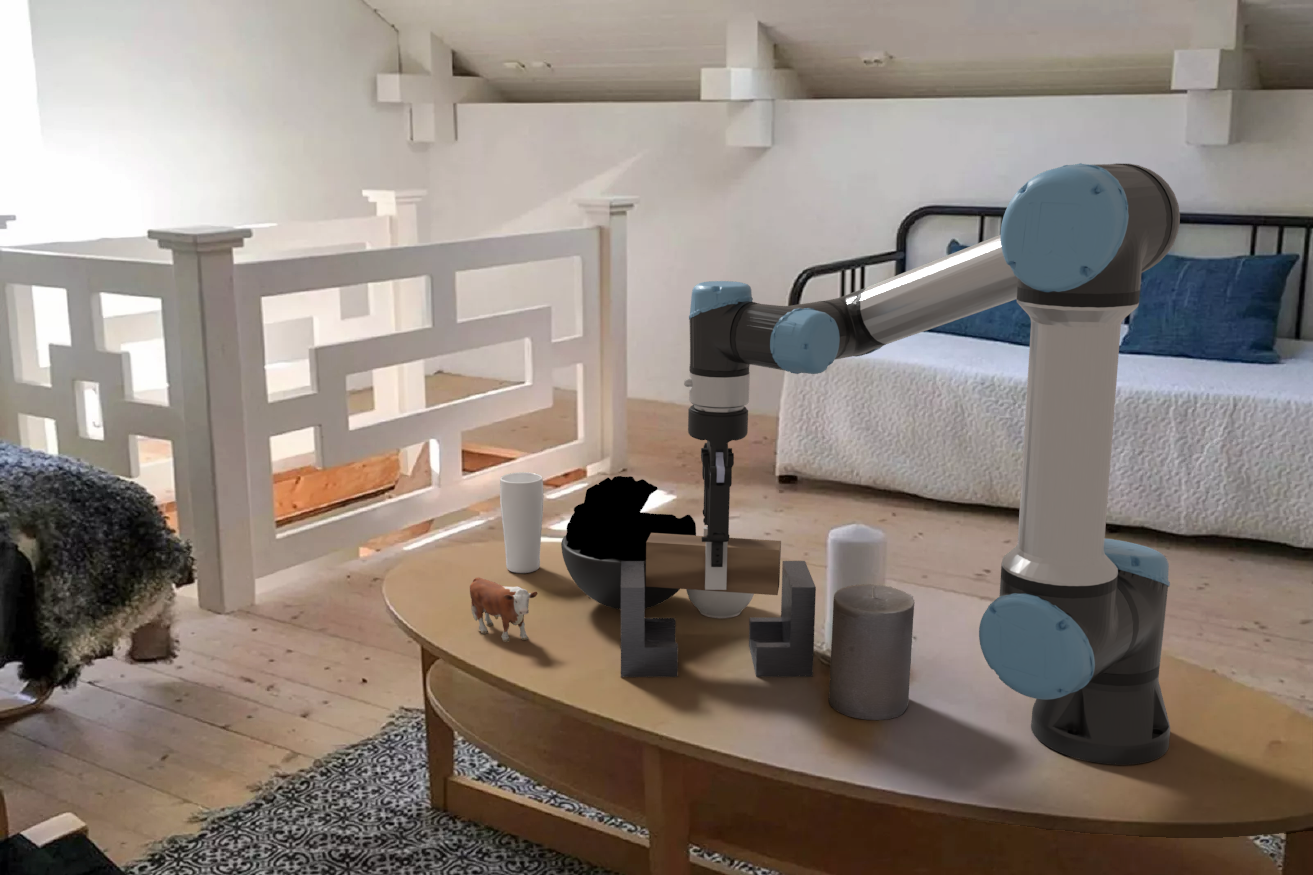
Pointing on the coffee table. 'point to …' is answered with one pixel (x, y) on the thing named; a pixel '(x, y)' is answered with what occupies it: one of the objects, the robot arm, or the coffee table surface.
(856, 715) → the pillar candle
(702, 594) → the lidded jar
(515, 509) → the drinking glass
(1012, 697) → the coffee table surface
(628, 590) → the grey stand
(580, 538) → the dark grey bowl
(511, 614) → the bull figurine
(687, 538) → the rail
